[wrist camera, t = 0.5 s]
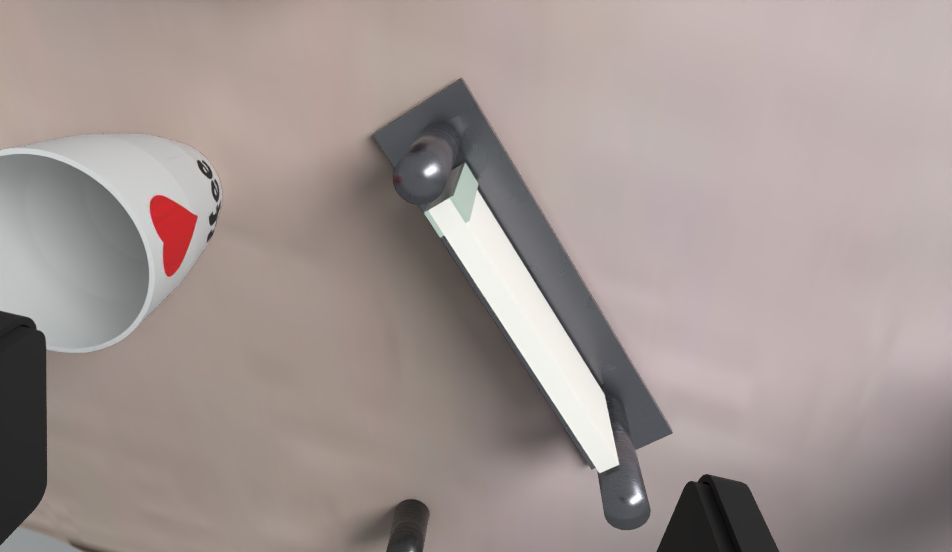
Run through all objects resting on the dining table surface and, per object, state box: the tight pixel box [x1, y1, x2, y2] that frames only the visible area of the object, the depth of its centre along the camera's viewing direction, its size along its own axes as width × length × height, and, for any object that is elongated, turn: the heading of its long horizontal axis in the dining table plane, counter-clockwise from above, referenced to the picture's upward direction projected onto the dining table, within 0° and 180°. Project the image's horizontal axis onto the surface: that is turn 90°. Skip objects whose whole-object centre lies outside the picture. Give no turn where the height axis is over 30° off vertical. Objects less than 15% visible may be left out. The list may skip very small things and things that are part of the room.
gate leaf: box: [424, 163, 619, 473], centre depth 32 cm, size 14×1×6 cm, turn 32°
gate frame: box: [373, 78, 672, 552], centre depth 33 cm, size 22×17×8 cm
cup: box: [0, 133, 222, 353], centre depth 30 cm, size 8×8×10 cm
